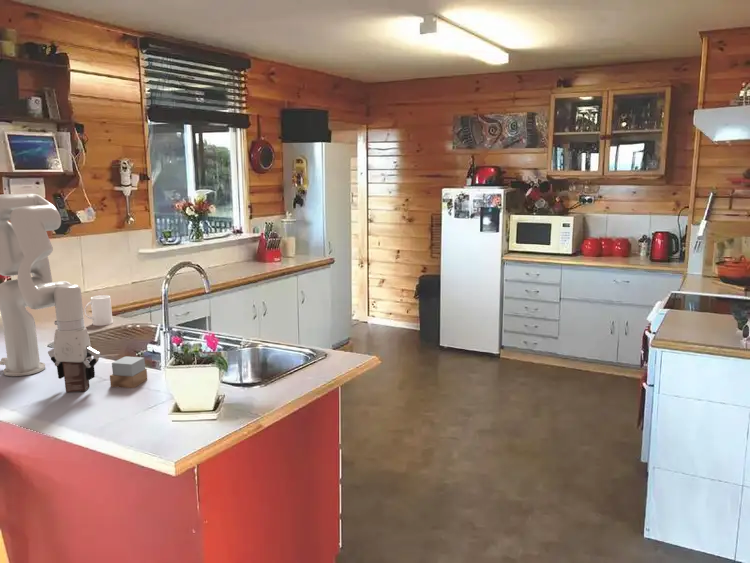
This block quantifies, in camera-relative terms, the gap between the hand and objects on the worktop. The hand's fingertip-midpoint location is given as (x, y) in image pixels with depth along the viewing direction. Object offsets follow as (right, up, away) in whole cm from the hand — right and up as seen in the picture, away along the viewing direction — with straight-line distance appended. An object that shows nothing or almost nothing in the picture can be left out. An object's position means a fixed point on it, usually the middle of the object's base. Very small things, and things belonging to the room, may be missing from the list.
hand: (76, 377), depth 197 cm
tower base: (+14, -3, +6) cm, 16 cm away
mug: (-29, +11, +82) cm, 87 cm away
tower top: (+14, +1, +5) cm, 15 cm away
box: (0, -4, +1) cm, 4 cm away
